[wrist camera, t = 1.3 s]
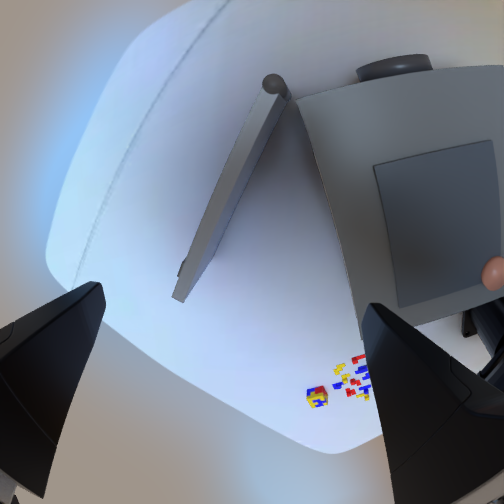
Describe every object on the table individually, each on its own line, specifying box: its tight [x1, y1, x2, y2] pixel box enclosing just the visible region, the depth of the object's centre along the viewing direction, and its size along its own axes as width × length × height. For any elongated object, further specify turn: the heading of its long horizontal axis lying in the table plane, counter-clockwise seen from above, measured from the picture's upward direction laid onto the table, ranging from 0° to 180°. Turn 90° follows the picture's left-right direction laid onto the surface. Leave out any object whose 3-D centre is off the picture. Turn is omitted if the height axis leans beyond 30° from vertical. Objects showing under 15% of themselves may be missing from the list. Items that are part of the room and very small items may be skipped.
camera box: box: [296, 54, 504, 340], centre depth 15 cm, size 15×12×7 cm
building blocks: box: [306, 354, 371, 408], centre depth 26 cm, size 6×8×2 cm
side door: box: [172, 74, 291, 303], centre depth 17 cm, size 14×1×6 cm, turn 155°
